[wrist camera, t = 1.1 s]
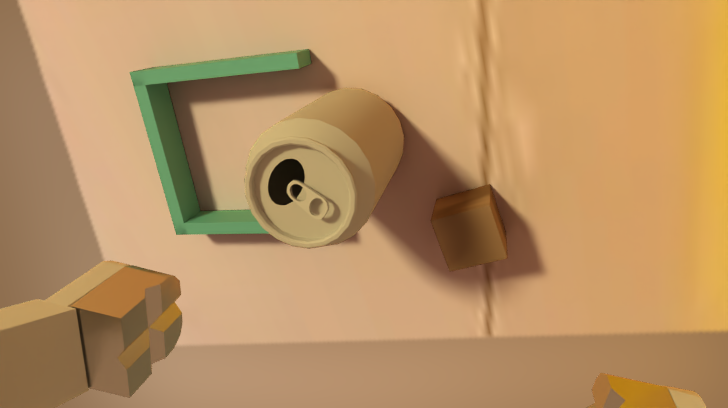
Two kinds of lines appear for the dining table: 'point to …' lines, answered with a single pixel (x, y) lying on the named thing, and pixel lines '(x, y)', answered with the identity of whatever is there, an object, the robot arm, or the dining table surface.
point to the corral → (169, 141)
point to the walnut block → (469, 228)
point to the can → (324, 168)
